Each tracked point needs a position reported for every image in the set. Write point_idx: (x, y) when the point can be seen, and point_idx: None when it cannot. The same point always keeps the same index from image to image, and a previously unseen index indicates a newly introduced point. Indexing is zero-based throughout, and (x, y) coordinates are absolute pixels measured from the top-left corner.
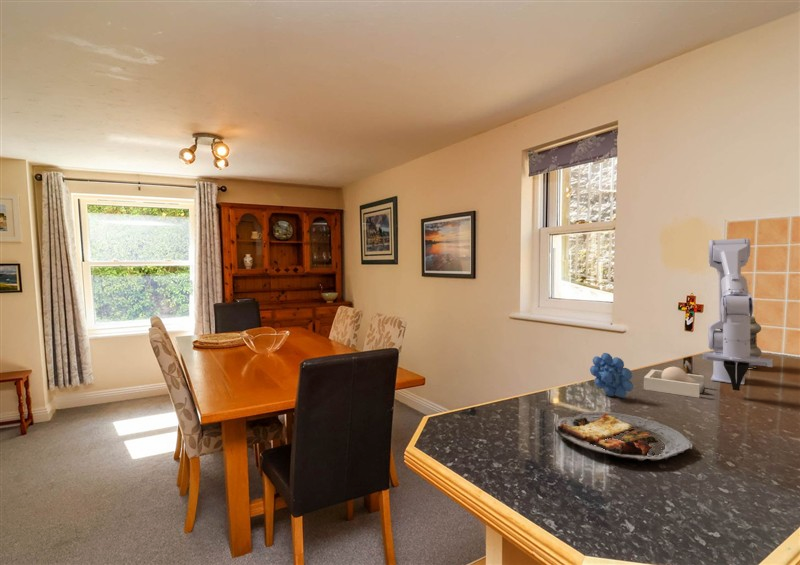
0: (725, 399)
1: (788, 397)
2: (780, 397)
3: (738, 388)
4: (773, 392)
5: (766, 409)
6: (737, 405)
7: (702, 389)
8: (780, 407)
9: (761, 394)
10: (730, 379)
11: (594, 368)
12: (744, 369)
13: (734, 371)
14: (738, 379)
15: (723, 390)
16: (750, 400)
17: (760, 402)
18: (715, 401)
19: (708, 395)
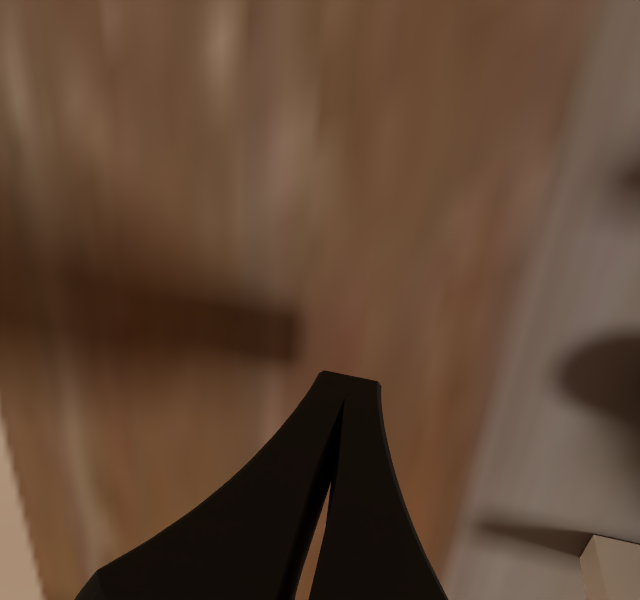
0: (473, 241)
1: (37, 476)
2: (74, 462)
3: (322, 383)
4: (122, 552)
5: (110, 9)
6: (386, 18)
7: None
8: (25, 174)
9: (180, 495)
10: (395, 474)
11: None
12: (142, 580)
13: (322, 571)
14: (296, 461)
15: (427, 522)
16: (249, 305)
17: (175, 273)
18: (624, 85)
19: (622, 330)
